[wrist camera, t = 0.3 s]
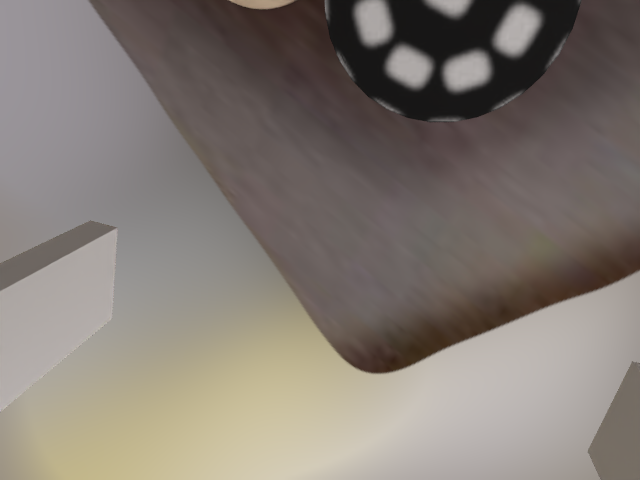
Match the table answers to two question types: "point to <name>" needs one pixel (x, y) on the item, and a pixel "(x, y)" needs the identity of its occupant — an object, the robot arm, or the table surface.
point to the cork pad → (263, 3)
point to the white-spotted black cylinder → (447, 51)
